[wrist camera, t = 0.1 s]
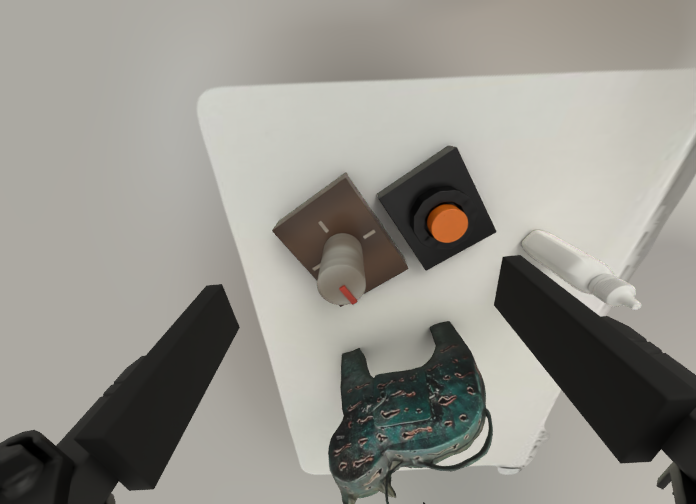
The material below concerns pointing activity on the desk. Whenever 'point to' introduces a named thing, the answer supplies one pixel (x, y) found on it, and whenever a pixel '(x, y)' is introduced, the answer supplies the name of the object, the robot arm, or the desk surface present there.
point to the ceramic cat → (407, 417)
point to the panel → (340, 217)
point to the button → (447, 223)
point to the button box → (426, 194)
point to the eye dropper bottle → (579, 269)
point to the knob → (342, 270)
